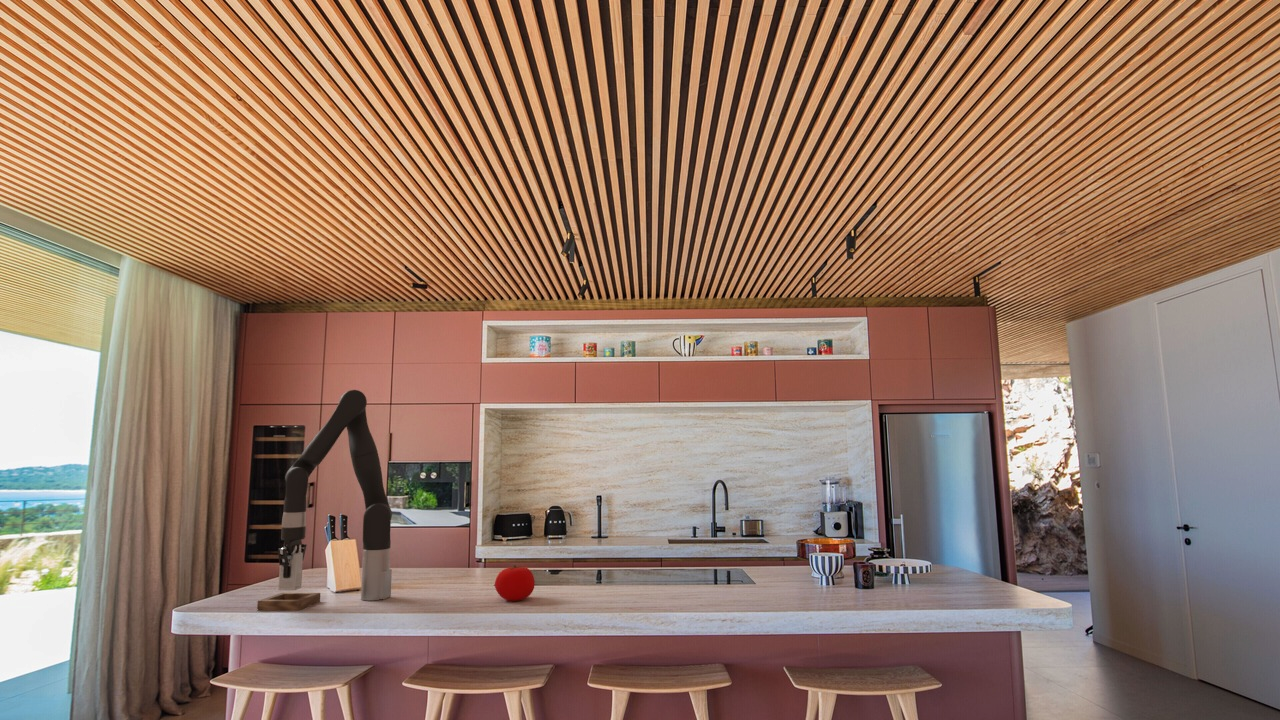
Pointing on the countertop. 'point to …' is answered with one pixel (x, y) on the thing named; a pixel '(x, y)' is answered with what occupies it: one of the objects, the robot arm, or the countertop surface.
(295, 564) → the skincare box
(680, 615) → the countertop surface
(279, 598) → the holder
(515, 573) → the tomato
